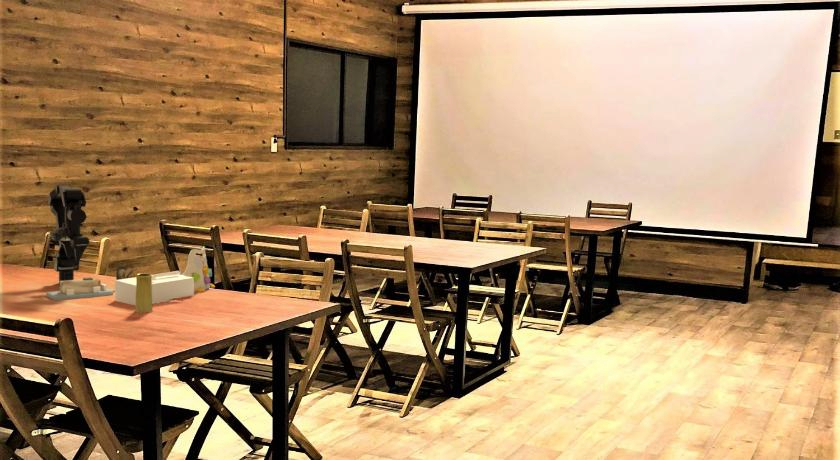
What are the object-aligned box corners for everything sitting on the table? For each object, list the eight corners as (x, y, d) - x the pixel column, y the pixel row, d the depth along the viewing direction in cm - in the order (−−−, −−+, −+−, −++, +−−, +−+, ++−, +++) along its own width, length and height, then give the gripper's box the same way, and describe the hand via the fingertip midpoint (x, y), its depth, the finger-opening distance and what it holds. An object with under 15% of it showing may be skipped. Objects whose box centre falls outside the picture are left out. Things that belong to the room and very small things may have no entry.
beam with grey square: (60, 292, 333) (59, 279, 333) (96, 288, 343) (96, 276, 342) (63, 294, 330) (63, 281, 330) (100, 290, 340) (100, 278, 339)
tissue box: (115, 302, 328) (115, 274, 327) (170, 293, 348) (170, 266, 347) (138, 309, 320) (138, 279, 318) (193, 299, 340) (193, 271, 338)
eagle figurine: (137, 287, 355) (137, 266, 354) (131, 291, 348) (131, 269, 347) (118, 287, 355) (118, 265, 354) (112, 290, 348) (112, 268, 347)
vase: (147, 311, 315) (147, 272, 314) (155, 314, 311) (156, 275, 309) (131, 313, 311) (131, 274, 309) (139, 316, 307) (139, 277, 305)
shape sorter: (199, 296, 345) (199, 252, 342) (174, 294, 346) (174, 250, 344) (219, 287, 364) (220, 245, 361) (196, 285, 366) (196, 243, 363)
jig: (46, 296, 333) (46, 287, 332) (102, 290, 348) (102, 281, 347) (55, 301, 326) (55, 291, 325) (113, 294, 340) (113, 286, 340)
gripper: (43, 218, 344) (43, 257, 347) (60, 224, 331) (61, 265, 333) (71, 217, 352) (72, 255, 354) (89, 223, 338) (90, 262, 340)
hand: (73, 259), depth 345 cm, fingers open, 9 cm apart
